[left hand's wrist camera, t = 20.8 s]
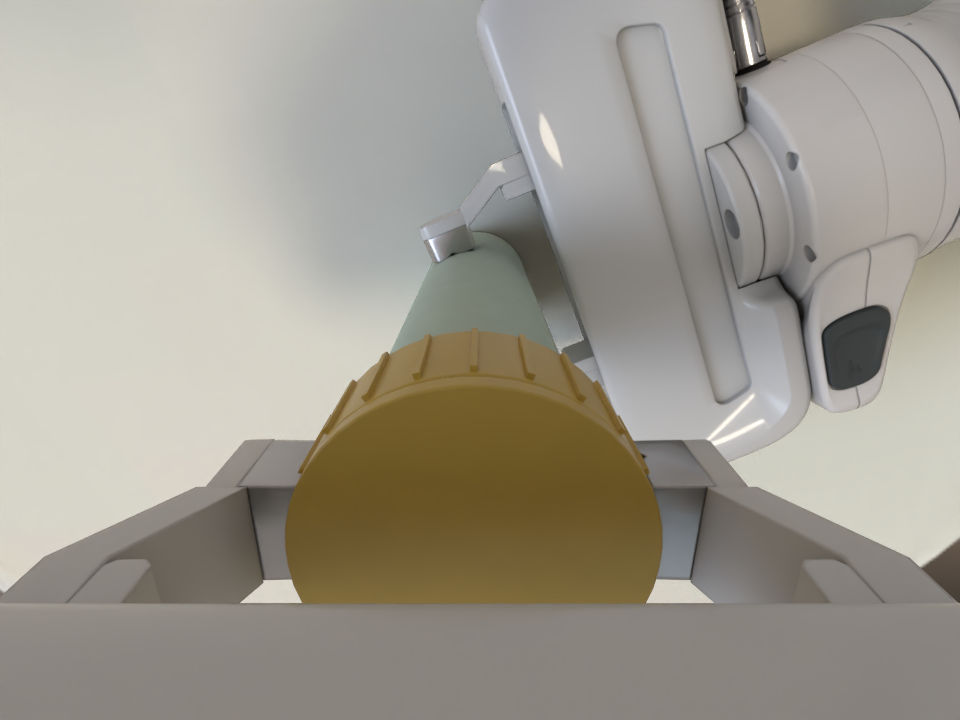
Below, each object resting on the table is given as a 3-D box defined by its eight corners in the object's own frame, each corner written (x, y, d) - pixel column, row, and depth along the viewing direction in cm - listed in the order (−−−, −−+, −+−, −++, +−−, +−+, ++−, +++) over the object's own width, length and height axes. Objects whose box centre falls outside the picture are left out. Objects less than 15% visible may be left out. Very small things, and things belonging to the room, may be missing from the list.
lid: (261, 457, 10) (197, 543, 8) (493, 256, 9) (498, 291, 6) (461, 629, 12) (456, 744, 9) (685, 482, 10) (743, 573, 8)
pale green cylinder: (533, 313, 28) (633, 603, 10) (443, 334, 28) (377, 650, 10) (513, 221, 26) (589, 360, 8) (418, 244, 26) (285, 427, 8)
